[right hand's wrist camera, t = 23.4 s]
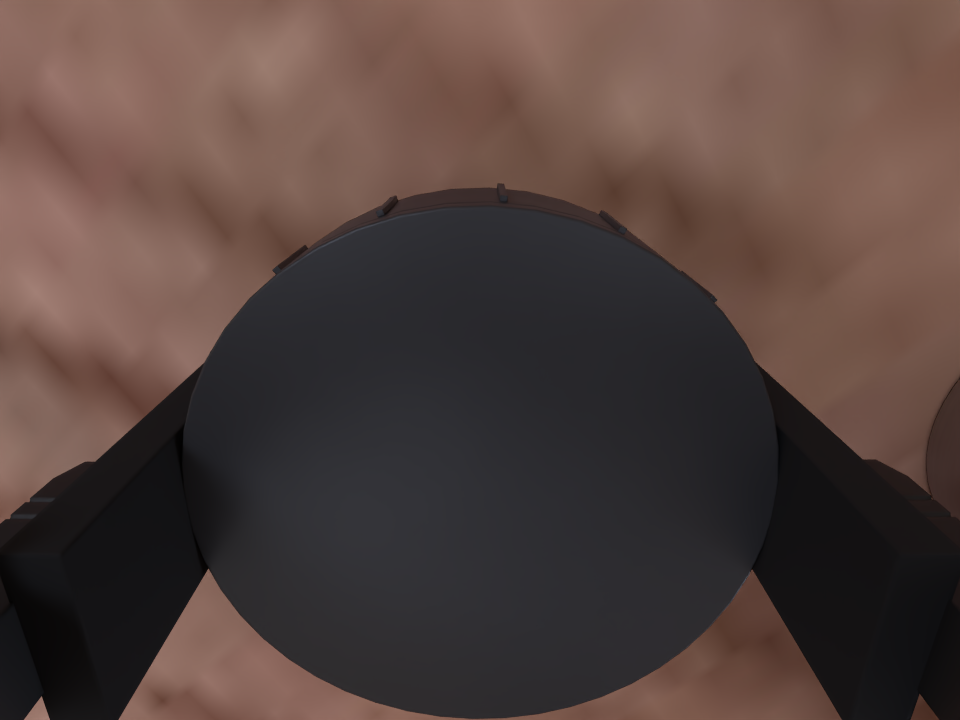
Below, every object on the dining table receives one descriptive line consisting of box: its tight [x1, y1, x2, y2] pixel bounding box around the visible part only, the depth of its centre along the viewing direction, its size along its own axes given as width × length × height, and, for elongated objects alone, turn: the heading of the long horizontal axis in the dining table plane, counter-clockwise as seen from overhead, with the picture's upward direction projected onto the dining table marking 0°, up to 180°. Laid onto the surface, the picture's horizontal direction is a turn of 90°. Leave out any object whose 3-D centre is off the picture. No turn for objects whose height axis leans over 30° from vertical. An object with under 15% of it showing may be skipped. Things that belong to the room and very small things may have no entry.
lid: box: [182, 184, 779, 719], centre depth 11 cm, size 10×10×2 cm
